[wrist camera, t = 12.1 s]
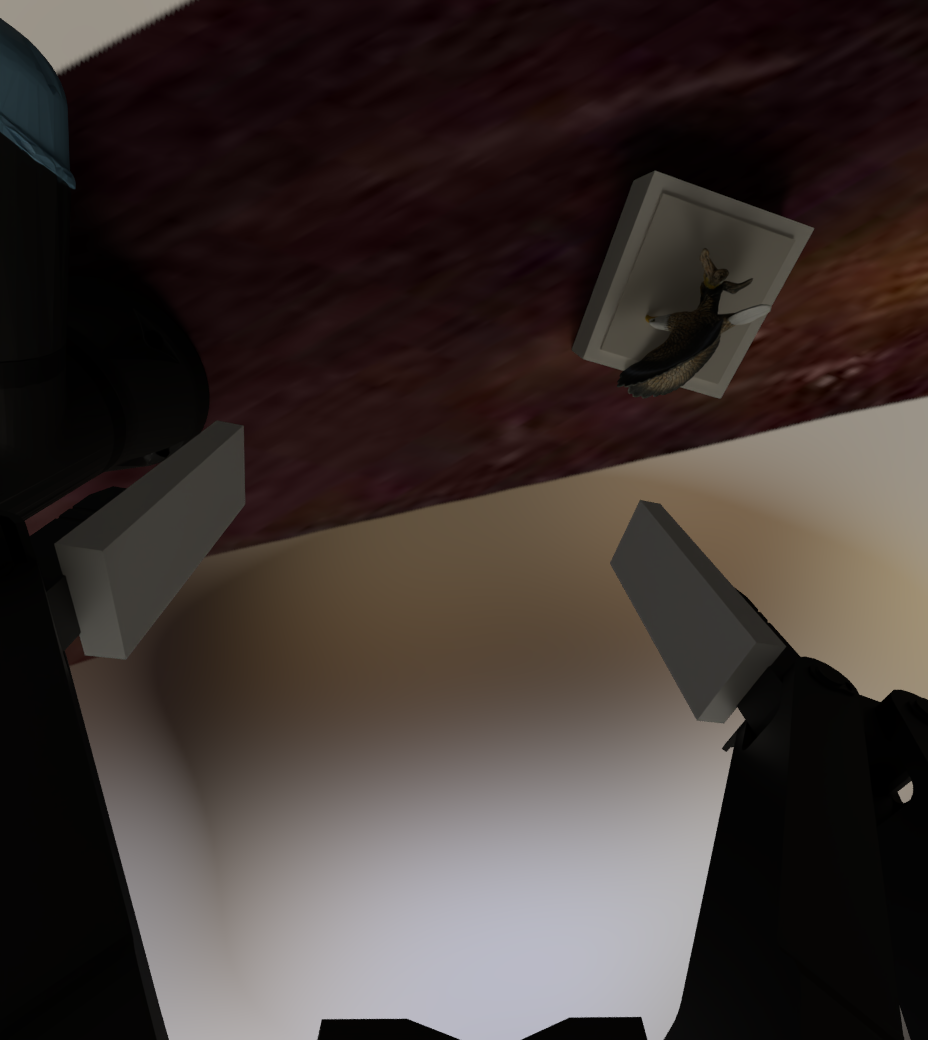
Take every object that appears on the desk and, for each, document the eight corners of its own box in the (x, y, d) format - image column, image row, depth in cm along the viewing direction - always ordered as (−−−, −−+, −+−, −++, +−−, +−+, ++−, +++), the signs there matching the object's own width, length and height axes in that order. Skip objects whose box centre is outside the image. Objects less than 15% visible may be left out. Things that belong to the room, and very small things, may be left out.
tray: (571, 350, 38) (584, 359, 34) (633, 180, 32) (656, 169, 29) (697, 386, 40) (722, 399, 36) (777, 231, 34) (817, 228, 30)
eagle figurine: (648, 242, 30) (587, 376, 32) (758, 248, 25) (676, 404, 27) (692, 292, 35) (636, 403, 37) (790, 305, 30) (719, 431, 33)
